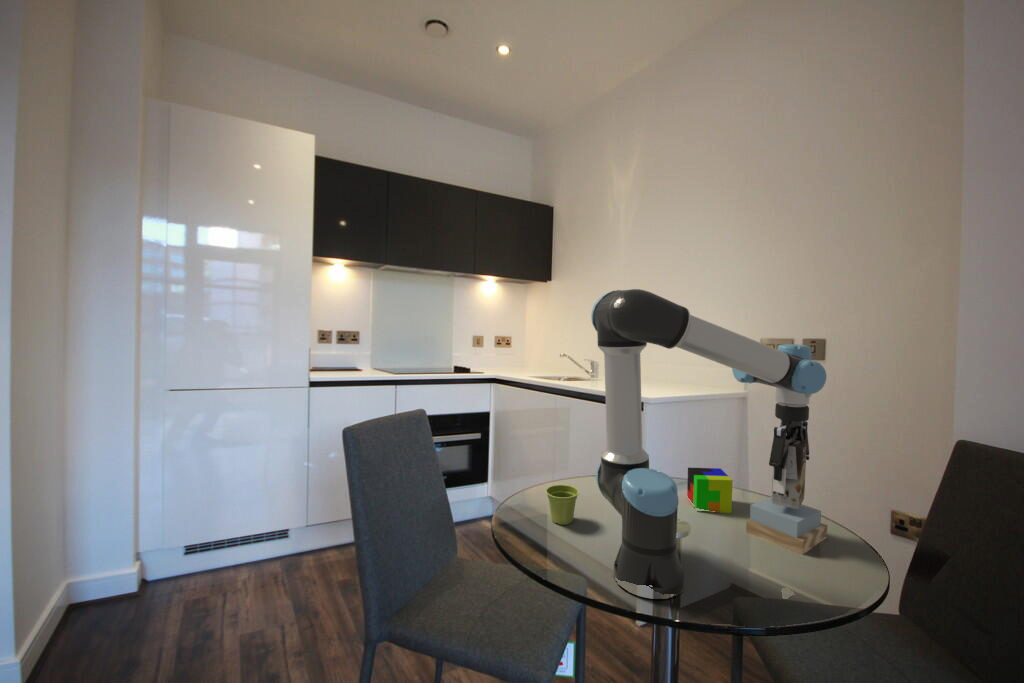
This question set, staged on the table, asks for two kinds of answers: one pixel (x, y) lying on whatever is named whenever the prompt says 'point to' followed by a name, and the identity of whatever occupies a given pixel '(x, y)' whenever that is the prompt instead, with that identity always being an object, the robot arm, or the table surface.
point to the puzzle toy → (710, 489)
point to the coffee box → (793, 476)
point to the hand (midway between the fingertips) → (788, 487)
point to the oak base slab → (787, 536)
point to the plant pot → (562, 503)
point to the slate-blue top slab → (785, 517)
